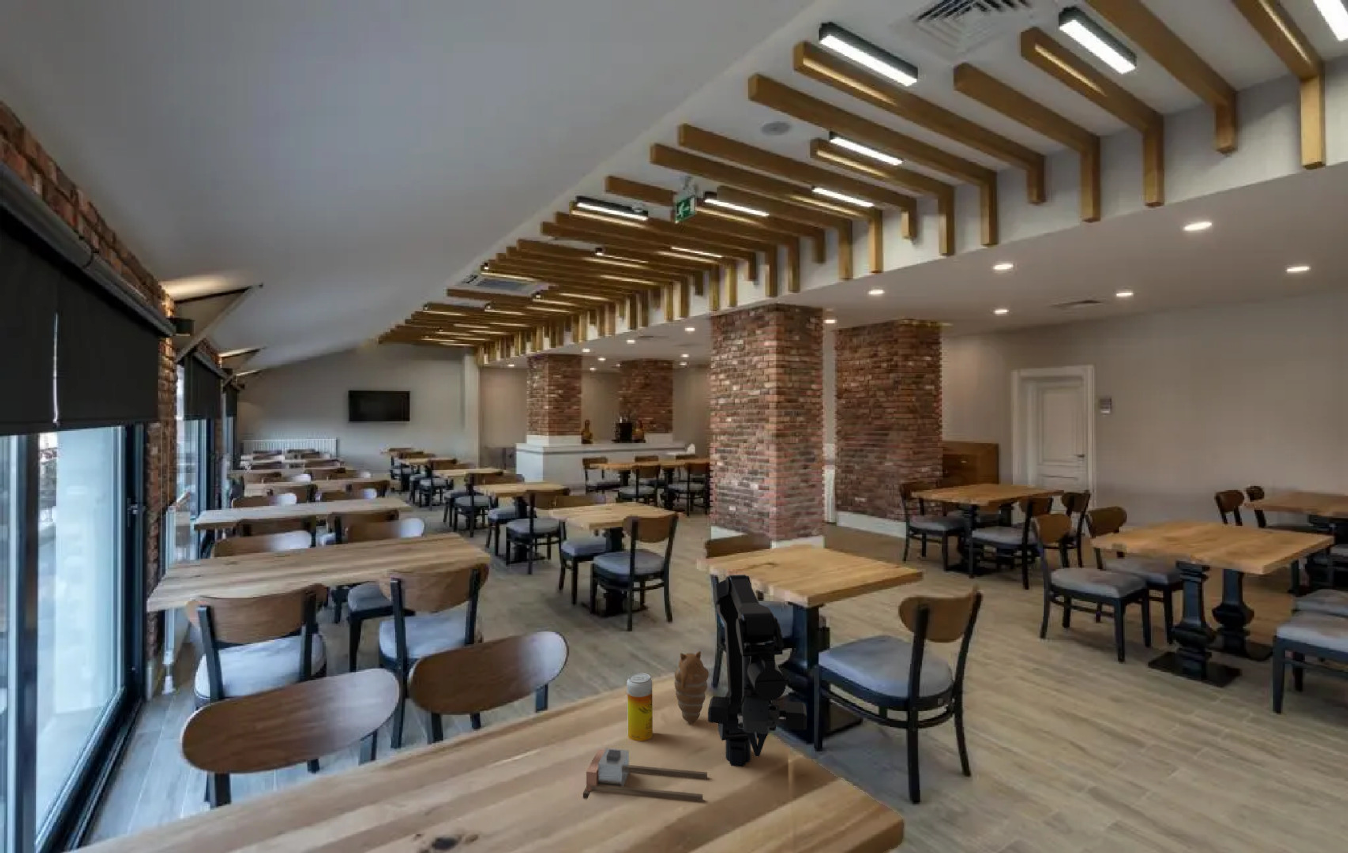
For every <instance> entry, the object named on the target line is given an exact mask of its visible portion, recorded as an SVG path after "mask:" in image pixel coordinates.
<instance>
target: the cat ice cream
mask: <svg viewBox="0 0 1348 853" xmlns="http://www.w3.org/2000/svg"><path fill="white" fill-rule="evenodd" d="M679 655H680V656H679V657H680V659H679V662H678V667H677V668H676V669H675V672H674V689H675V697H676V699H677V706H678V707H679V709H680V711H681V716H682V719H683V720H684V721H686V723H687V722H688V723H693V722H696V721H697V720H698V719H699V718H700V716H701V712H702V709H703V706H704V702H705V700H706V692H707V689H708V682H707V680H708V679H709V677H710V676H709V674H710V672H709V670H708V669H707V668H706V667H705V666H704V663H703V662H702V660H701V655H702V652H701V650H699V651H697V652H696V653H693V652H688V653H682V652H680V654H679Z"/></svg>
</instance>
